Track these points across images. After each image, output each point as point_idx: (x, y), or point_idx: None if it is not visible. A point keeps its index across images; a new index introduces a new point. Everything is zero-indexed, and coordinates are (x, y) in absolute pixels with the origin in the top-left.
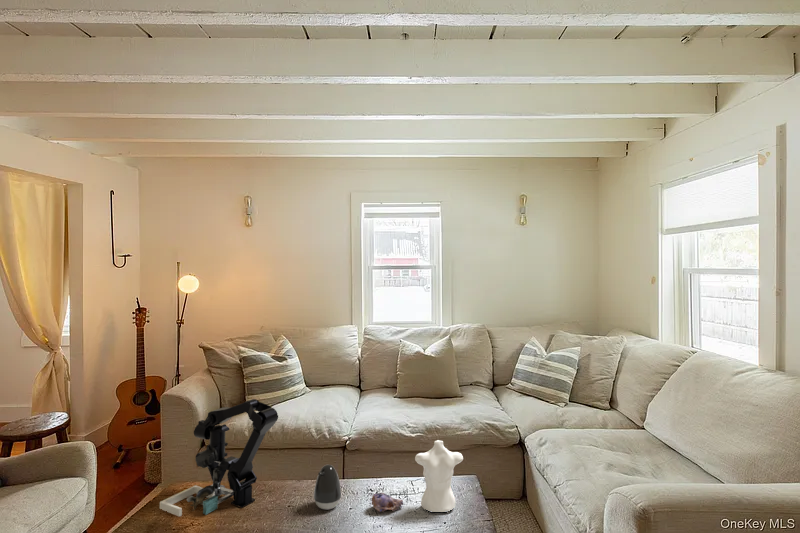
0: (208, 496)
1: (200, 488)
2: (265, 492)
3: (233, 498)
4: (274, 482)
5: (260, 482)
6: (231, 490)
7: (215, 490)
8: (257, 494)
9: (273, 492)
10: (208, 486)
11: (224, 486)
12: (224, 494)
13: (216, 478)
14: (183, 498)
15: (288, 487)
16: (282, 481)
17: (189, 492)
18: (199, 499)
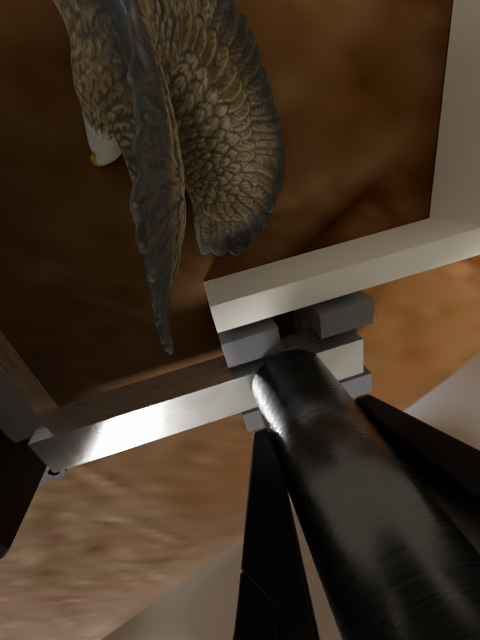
0: (260, 270)
1: (412, 251)
2: (45, 556)
3: None
4: (147, 589)
5: (202, 549)
6: (85, 456)
7: (223, 346)
8: (47, 525)
9: (13, 583)
10: (146, 271)
11: (246, 426)
12: (140, 382)
13: (301, 463)
14: (452, 58)
15: (32, 628)
16: (129, 611)
17: (471, 143)
18: (73, 28)
